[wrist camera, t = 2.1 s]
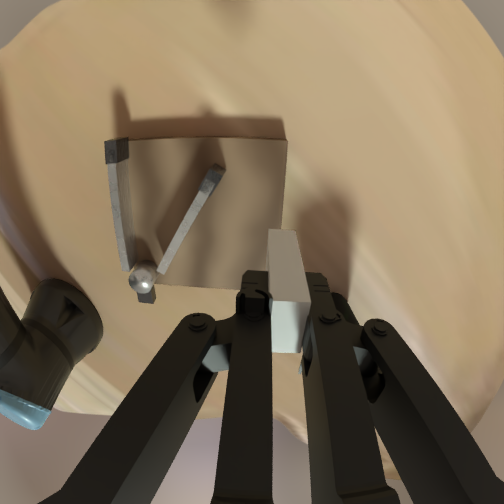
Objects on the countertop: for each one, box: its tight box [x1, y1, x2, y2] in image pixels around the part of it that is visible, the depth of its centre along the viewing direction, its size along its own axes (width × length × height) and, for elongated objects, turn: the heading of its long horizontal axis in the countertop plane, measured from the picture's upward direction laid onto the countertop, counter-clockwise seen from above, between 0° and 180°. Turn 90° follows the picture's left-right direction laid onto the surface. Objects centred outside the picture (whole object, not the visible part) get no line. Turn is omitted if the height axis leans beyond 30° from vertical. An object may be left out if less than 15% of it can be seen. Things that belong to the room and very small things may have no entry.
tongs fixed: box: [104, 137, 159, 304], centre depth 30 cm, size 4×20×3 cm, turn 178°
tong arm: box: [156, 163, 226, 275], centre depth 30 cm, size 1×13×3 cm, turn 148°
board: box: [128, 136, 288, 290], centre depth 32 cm, size 18×18×2 cm
